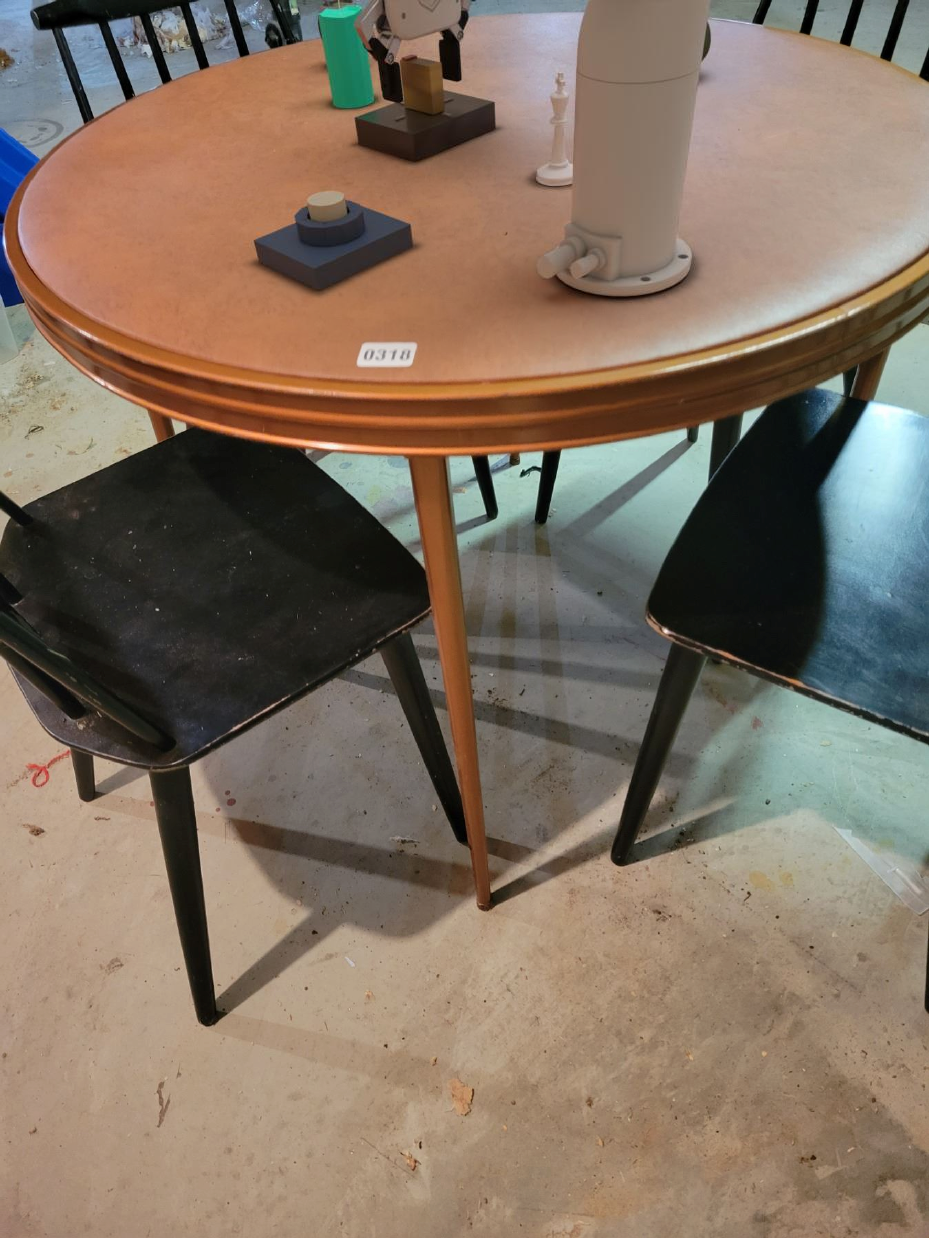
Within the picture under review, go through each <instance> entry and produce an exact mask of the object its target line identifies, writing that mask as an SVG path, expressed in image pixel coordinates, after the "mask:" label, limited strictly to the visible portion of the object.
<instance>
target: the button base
mask: <svg viewBox="0 0 929 1238" xmlns="http://www.w3.org/2000/svg"><path fill="white" fill-rule="evenodd" d="M345 203H346V208H347V214H348V215H347V216H346V217H344V218H341V219H339V220H336V221H330V222H314V221H312V220H311V219H310V214H309V209H308V205H306V206H303V207H301V208H300V209H299V210H298V211H297V212H296V213H295V214H294V216H293V217H294V221H295V222H293V223H292V224H288V225H287V226H284V227H282V228H280V229H277V230H275V231H272V232H270V233H267V234H265V235H263V236H260V237H258V238H255V239H253V244H254V248H255V252H256V255H257V259H258V263H259V264H261V265H263V266H266V267H268V268H270V269H272V270H275V271H276V272H279V273H281V274H282V275H284V276H286V277H288V278H291V279H292V280H295V281H297V282H299V283H301V284H303V285H305V286H307V287H309V288H311V289H313V290H315V291H317V292H320V291H322V290H324V289H326V288H329V287H331V286H333V285H335V284H337V283H339V282H342V281H343V280H346V279H348V278H350V277H352V276H354V275H356V274H358V273H360V272H362V271H364V270H366V269H368V268H371V267H372V266H375V265H378V264H379V263H382V262H384V261H386V260H387V259H390V258H392V257H394V256H396V255H398V254H400V253H403V252H405V251H406V250H409V249H410V248H413V247H414V242H413V232H412V225H411V223H409V222H406V221H404V220H400V219H397V218H396V217H393V216H391V215H387V214H385V213H382V212H379V211H377V210H374V209H371V208H369V207H366V206H363V205H361V204H360V203H358V202H355V201H352V200H350V199H345Z"/></svg>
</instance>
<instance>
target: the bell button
mask: <svg viewBox="0 0 929 1238" xmlns="http://www.w3.org/2000/svg"><path fill="white" fill-rule="evenodd" d="M345 197H346V196H345V194H344V193H343V192H341V191H337V190H324V191H319V192H315V193H313V194H311V195H310V196H308V197H307V199H306V204H307V206H308V209H309V214H310V219H311V220H312V221H314V222H330V221H336V220H339V219H341V218H344V217H346V216H347V215H348V214H347V208H346V203H345V200H346V198H345Z"/></svg>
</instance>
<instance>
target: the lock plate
mask: <svg viewBox="0 0 929 1238" xmlns="http://www.w3.org/2000/svg"><path fill="white" fill-rule="evenodd" d="M443 91H444V105H445V111H442V112H440V113H437V114H435V115H432V114H428V113H424V112H420V111H417V110H413V109H409V108H405V105H404V99H403V101H402V102H401V103H395V102H392V103H390V104H388V105H385V106H382V107H380V108H377V109H374V110H371V111H368V112H365V113H363V114H360V115H357V116H354V125H355V130H356V137H357V143H358V145H360V146H362V147H363V146H364V147H367V148H370V149H372V150H377V151H380V152H383V153H386V154H388V155H389V154H390V155H393V156H395V157H399V158H402V159H405V160H408V161H411V162H415V163H416V162H418V161H421V160H423V159H426V158H428V157H430V156H433V155H435V154H437V153H439V152H442V151H445V150H447V149H449V148H453V147H454V146H457V145H460V144H462V143H465V142H467V141H469V140H472V139H475V138H476V137H479V136H482V135H484V134H486V133H488V132H491V131H494V130H495V129H496V102H495V101H493V100H489V99H484V98H481V97H475V96H471V95H467V94H464V93H463V94H462V93H459V92H455V91H450V90H446V89H443Z"/></svg>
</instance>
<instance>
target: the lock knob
mask: <svg viewBox="0 0 929 1238" xmlns="http://www.w3.org/2000/svg"><path fill="white" fill-rule="evenodd" d="M399 65H400V72H401V81H402V90H403V100H404V105H405V108H409V109H413V110H417V111H420V112H424V113H428V114H432V115H435V114H437V113H440V112H442V111H445V105H444V91H443V90H444V81H443V80H444V79H443V78H442V64H441V62H440V61H436V60H432V59H426V58H422V57H418V55H416V54H411V53H410V54H408V55H405V56H402V57H401V59H400V60H399Z"/></svg>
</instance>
